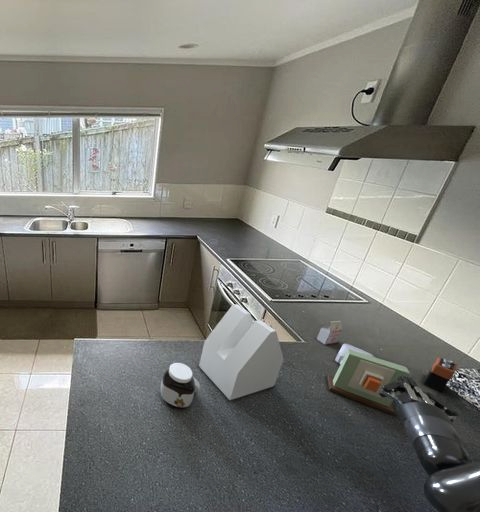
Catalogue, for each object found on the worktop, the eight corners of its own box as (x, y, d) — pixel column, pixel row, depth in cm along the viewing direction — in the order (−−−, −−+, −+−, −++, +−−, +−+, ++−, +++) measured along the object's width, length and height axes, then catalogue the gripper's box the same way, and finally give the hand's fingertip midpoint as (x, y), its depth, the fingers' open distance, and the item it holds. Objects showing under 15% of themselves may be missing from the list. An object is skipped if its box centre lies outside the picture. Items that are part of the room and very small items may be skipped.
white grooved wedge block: (239, 355, 109) (255, 300, 100) (273, 386, 96) (296, 325, 86) (198, 366, 103) (212, 308, 94) (229, 400, 90) (248, 337, 80)
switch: (374, 388, 87) (379, 380, 86) (376, 392, 86) (381, 383, 85) (363, 384, 89) (368, 376, 87) (365, 388, 87) (369, 379, 86)
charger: (330, 368, 105) (339, 351, 114) (362, 384, 98) (369, 365, 107) (334, 358, 103) (344, 342, 112) (367, 373, 96) (375, 355, 105)
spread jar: (157, 402, 88) (162, 374, 83) (163, 377, 98) (167, 350, 93) (197, 416, 84) (204, 387, 80) (199, 388, 94) (205, 361, 89)
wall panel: (387, 399, 93) (408, 363, 87) (393, 416, 87) (416, 379, 81) (327, 377, 101) (343, 343, 95) (329, 391, 95) (346, 356, 89)
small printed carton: (316, 338, 121) (324, 319, 117) (328, 337, 122) (337, 318, 118) (324, 344, 117) (333, 324, 114) (337, 342, 119) (346, 323, 115)
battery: (443, 384, 100) (459, 362, 96) (440, 392, 96) (456, 370, 92) (426, 376, 103) (440, 354, 99) (422, 383, 99) (436, 362, 96)
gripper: (489, 437, 54) (449, 379, 67) (395, 403, 60) (376, 356, 74) (468, 462, 56) (434, 402, 70) (380, 427, 63) (364, 378, 77)
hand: (404, 378), depth 72 cm, fingers closed
